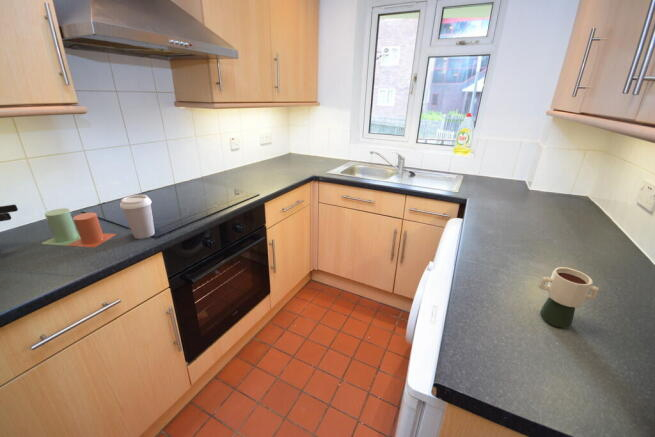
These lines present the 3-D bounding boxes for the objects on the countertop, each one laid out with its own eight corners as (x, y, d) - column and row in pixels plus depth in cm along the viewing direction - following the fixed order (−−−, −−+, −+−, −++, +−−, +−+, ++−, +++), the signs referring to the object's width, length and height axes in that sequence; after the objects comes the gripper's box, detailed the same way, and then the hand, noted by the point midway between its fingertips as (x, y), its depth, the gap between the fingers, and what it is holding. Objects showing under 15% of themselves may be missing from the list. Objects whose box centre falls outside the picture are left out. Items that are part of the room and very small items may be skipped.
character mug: (576, 316, 73) (596, 272, 68) (587, 337, 67) (610, 290, 62) (525, 305, 77) (540, 262, 72) (531, 323, 71) (548, 278, 66)
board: (95, 249, 100) (94, 247, 99) (41, 246, 101) (40, 243, 101) (117, 236, 109) (116, 234, 108) (67, 233, 110) (66, 230, 110)
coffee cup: (165, 233, 111) (156, 195, 105) (143, 245, 103) (132, 204, 97) (146, 229, 114) (137, 192, 108) (123, 240, 106) (111, 200, 100)
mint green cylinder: (74, 240, 103) (64, 214, 99) (51, 243, 101) (40, 216, 97) (81, 232, 109) (72, 207, 105) (60, 235, 107) (50, 209, 103)
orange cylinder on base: (94, 244, 101) (85, 220, 97) (76, 243, 102) (67, 219, 98) (108, 235, 107) (101, 213, 103) (92, 234, 107) (84, 212, 104)
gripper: (-82, 219, 80) (2, 207, 88) (-59, 203, 90) (14, 194, 99) (-67, 244, 83) (13, 230, 91) (-47, 226, 93) (23, 215, 102)
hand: (13, 211), depth 95 cm, fingers open, 8 cm apart
